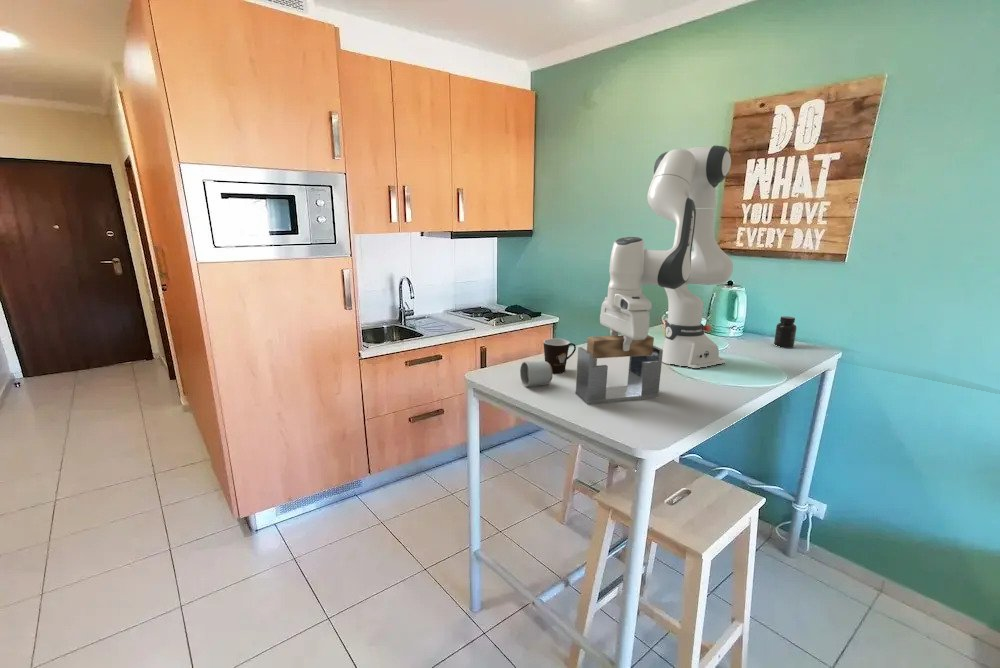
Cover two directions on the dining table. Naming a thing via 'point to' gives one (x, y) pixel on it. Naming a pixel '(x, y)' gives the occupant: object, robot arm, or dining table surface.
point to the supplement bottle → (785, 332)
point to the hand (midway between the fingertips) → (620, 347)
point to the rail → (618, 347)
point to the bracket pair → (639, 386)
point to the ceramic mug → (535, 373)
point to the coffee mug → (557, 354)
